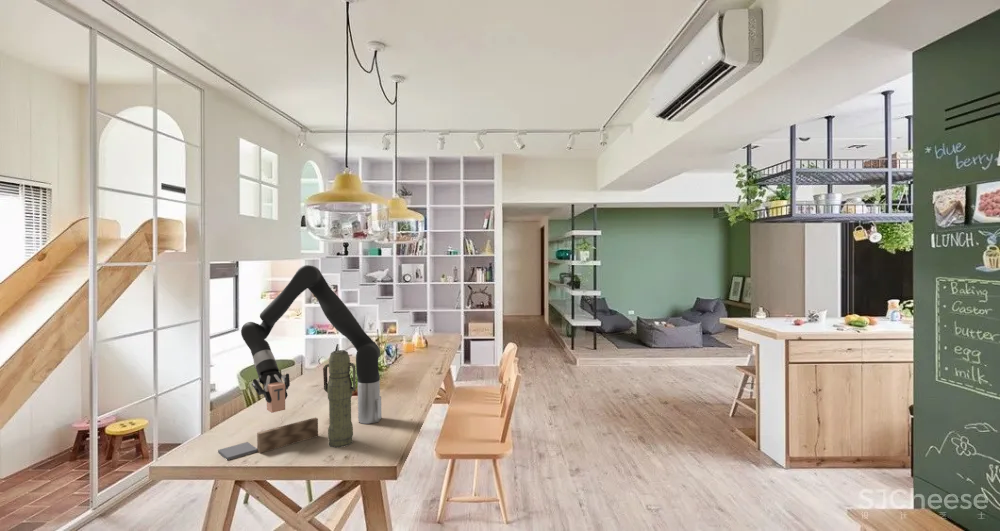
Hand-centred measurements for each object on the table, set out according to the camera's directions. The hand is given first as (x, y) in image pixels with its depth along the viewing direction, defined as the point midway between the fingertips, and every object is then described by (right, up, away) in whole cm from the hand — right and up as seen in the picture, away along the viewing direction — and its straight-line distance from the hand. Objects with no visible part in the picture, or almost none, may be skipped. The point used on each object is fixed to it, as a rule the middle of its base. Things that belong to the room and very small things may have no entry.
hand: (277, 399), depth 182 cm
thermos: (+25, -16, -1) cm, 29 cm away
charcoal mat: (-10, -17, -9) cm, 21 cm away
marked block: (-1, -4, +1) cm, 5 cm away
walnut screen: (+5, -16, -1) cm, 17 cm away
